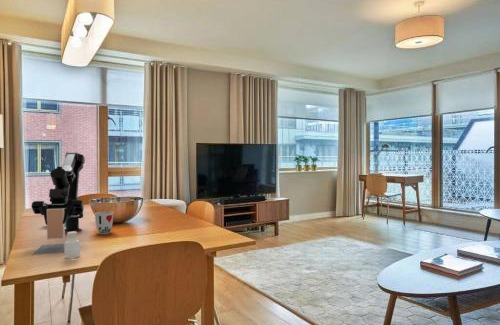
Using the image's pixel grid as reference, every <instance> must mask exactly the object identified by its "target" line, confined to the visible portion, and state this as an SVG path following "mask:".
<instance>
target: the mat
mask: <svg viewBox="0 0 500 325" xmlns="http://www.w3.org/2000/svg"><path fill="white" fill-rule="evenodd" d="M60 253H61V254H62V253H64V254H65V248H64V243H56V244H43V245H41V246H40V247H38V248H37V249H36V250H35V251H34V252H33V253H31V255H32V256H33V255H45V254H46V255H47V254H51V255H52V254H60Z"/></svg>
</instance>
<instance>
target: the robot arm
mask: <svg viewBox="0 0 500 325" xmlns="http://www.w3.org/2000/svg"><path fill="white" fill-rule="evenodd" d="M64 156H65V157H64V160H63V164H62V165H61V166H56V168H53V169H52V170H51V171H50V172H49V174H50V178H51V181H52V184H53V186H54V188H50V189H49V195H48V197H49V202H50V203H48V202H47V203H46V202H44V200H35V201H34V200H33V202H32V203H31V206H30V207H31V210H32V211H33V212H32V213H33V214H35V215H41V216H43V218H44V223H45V225H46V226H47V209H57V208H64V219H63V224H65V223H66V225H65V233H68V232H72V231H76V232H77V231H82V229H81V227H80V221H79V220H80V219H83V218H84V208H85V206H84V203H83V200H82V199H78V197H79V196H78V195H79V194H78V193H79V182H80V181H79V180H80V172H81V171H82V169H83V168H84V164H85V162H86V158H85V155H83V154H81V153H78V152H77V151H68V152H66V153H65V155H64Z"/></svg>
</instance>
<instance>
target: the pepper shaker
mask: <svg viewBox="0 0 500 325" xmlns="http://www.w3.org/2000/svg"><path fill="white" fill-rule="evenodd" d="M66 233H67V237H66V238H67V240H66V241H65V242H64V243H63V244H64V248H65V253H64V258H65V259H69V260H74V259H77V258H79V257H81V241H80V240H78V232H77V231H72V232H66Z"/></svg>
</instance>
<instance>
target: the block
mask: <svg viewBox="0 0 500 325" xmlns="http://www.w3.org/2000/svg"><path fill="white" fill-rule="evenodd" d="M63 219H64V208H57V209H47V225H46V238H47V240H56V239H57V240H58V239H65V236H66V235H65V234H66V231H65V229H66V225H65V224H63Z"/></svg>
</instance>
